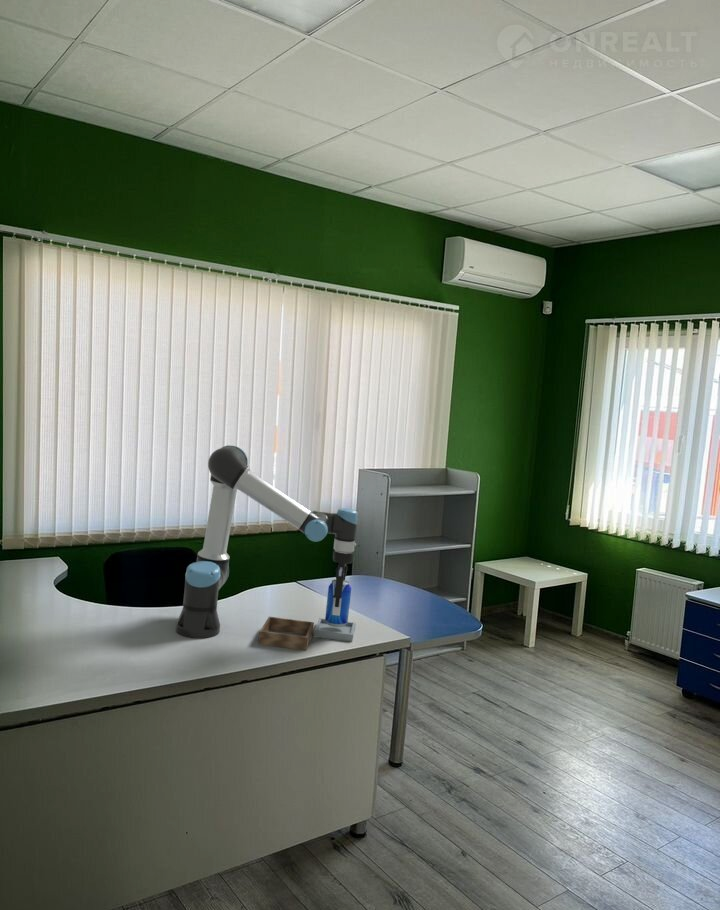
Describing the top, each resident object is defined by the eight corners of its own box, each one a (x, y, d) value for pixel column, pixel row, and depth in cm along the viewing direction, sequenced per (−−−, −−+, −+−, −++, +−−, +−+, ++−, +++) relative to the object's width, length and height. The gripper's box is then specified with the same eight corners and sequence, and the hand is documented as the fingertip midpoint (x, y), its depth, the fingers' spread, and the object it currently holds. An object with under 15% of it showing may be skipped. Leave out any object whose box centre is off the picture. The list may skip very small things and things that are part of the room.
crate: (258, 644, 246) (259, 631, 246) (267, 628, 262) (268, 616, 262) (306, 650, 245) (307, 637, 245) (312, 634, 262) (313, 622, 261)
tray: (313, 636, 259) (314, 629, 259) (318, 624, 273) (319, 617, 273) (352, 641, 258) (353, 634, 258) (355, 629, 272) (355, 622, 272)
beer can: (344, 629, 261) (349, 586, 259) (322, 625, 262) (326, 582, 261) (349, 622, 269) (354, 580, 267) (327, 618, 270) (332, 577, 269)
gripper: (351, 558, 252) (344, 621, 254) (355, 546, 273) (349, 604, 275) (330, 556, 253) (323, 618, 255) (336, 543, 274) (330, 601, 276)
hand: (337, 611), depth 265 cm, fingers closed on beer can, 8 cm apart
